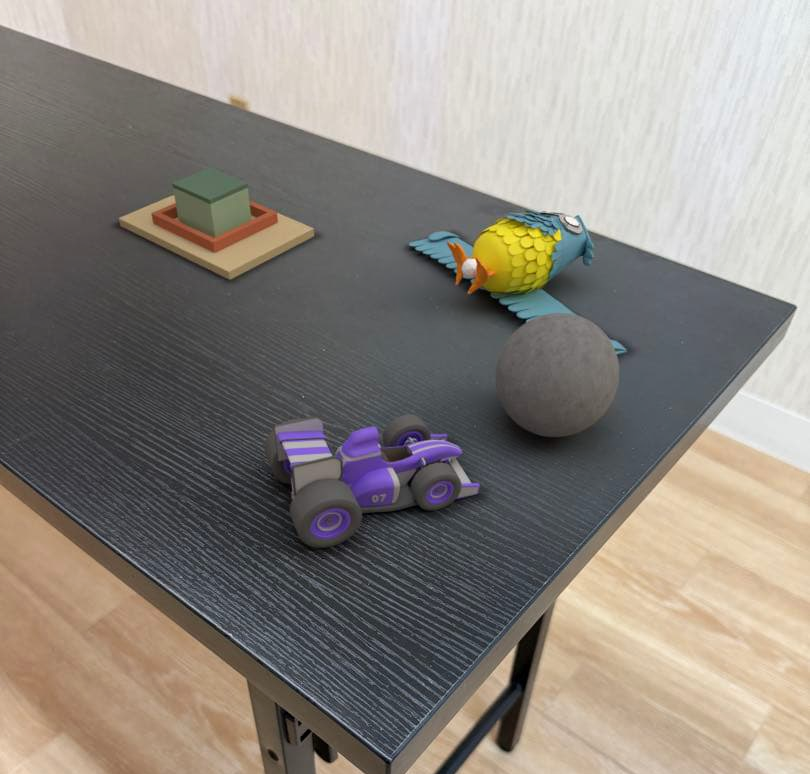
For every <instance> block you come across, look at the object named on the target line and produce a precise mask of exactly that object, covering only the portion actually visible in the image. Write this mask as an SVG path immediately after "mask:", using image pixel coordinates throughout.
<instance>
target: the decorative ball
mask: <svg viewBox="0 0 810 774" xmlns="http://www.w3.org/2000/svg"><path fill="white" fill-rule="evenodd" d="M574 314H575V313H574ZM574 314H568V313H551V314H546V315H542V316H539V317H537V318H534V317H533V318H534V319H532V320H530V321H528V322H527V323H526V322H525V323H523V324H522V325H521V326H520V327H518V328H517V329H516V330H515V331H514V332H513V333H512V334H511V335H510V336H509V337H508V339H507V340H506V342H505V343H504V345H503V347H502V348H501V351H500V353H499V356H498V357H497V361H496V362H497V363H496V368H495V377H494V379H495V388H496V389H495V390H496V393H497V396H498V400H499V402H500V404H501V406H502V408H503V409H504V411H505V412H506V414H507V415H508V417H509V418H510V419H511V420H512V421H513V422H514V423H516V425H518V426H520V427H521V428H522V429H524V430H525V431H528V432H529V433H532V434H534V435H537V436H540V437H547V438H563V437H570V436H573V435H576V434H578V433H581V432H583V431H584V430H587V429H588V428H590V427H592V426H593V425H594V424H595V423H597V422H598V421H599V420H600V419H602V417H603V416H604V415H605V414H606V412H607V411H608V409H609V408H610V407H611V405H612V404H613V401H614V399H615V397H616V394H617V392H618V391H617V390H618V388H619V383H620V382H619V381H620V364H619V363H620V362H619V358H618V355H616V351H615V349H614V347H613V345H612V343H611V341H610V340H611V339H610V337H608V335H607V334H606V333H605V332H604V330H602V329H601V327H599V326H598V325H597V324H596V323H594V322H592V321H591V320H589V319H587V318H585V317H583V316H580V315H578V314H576V315H574ZM609 339H610V340H609Z"/></svg>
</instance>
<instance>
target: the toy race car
mask: <svg viewBox="0 0 810 774" xmlns="http://www.w3.org/2000/svg"><path fill="white" fill-rule="evenodd" d="M323 421H324V420H323V419H322V418H321V417H318V416H313V417H307V418H295V419H291V420H287V421H285V422H282V423H280V424H274V425H273V430H272V431H271V432H270V433H269V434H268V436H267V437H266V440H265V443H264V448H263V449H264V455H265V458H266V459H267V462H268V464H269V468H270V469H271V472H272V473H273V475H274V477H275V478H276V479H277V480H278V481H280V482H282V483H284V484H287V485H291V490H292V491H291V492H290V494H291V499H292V500H291V502H290V506H289V515H290V518H291V521H292V523H293V525H294V528H295V530H296V534H297V535H298V537H299V539H300V541H301V542H302V543H303V544H305V545H307V546H308V547H312V548H316V549H325V548H326V549H327V548H331V547H335V546H337V545H340V544H342V543H344V542H345V541H347V540H349V539H350V538H351V537H352V536H353V535H354V534H355V533H356V532H357V531H358V529H359V528H360V526H361V523H362V520H363V514H371V513H384V512H385V513H386V512H393V511H399V510H404V509H407V508H411V507H414V506H419V507H420V508H421V509H422V510H425V511H432V512H433V511H438V510H442V509H444V508H446V507H448V506H450V505H451V504H452V503H453V502H455V501H456V500H459V499H463V498H467V497H472V496H477V495H479V493H480V488H481V485H480V484H479V482H471V480H470V479H469V477H468V476H467V474H466V472H465V471H464V469H463V468H462V466H461V465H460V463H459V462H458V459H457V458H458V457H459V458H460V457H462V456H463V454H464V453H463V452H464V451H463V450H462V448H461V447H460V446H459V445H458V444H454V443H452V442H451V441H448V440H449V435H448V434H447V433H431V432H430V430H429V428H428V426H427V424H426V423H425V422H424V420H423V419H422V418H421V417H420V416H418V415H416V414H412V413H411V414H409V413H408V414H403V415H400V416H397V417H395V418H394V419H393V420H391V421H390V422H389V423H387V425H386V427H385V428H384V430H383V433H382V442H383V444H384V446H385V447H382V446H381V444H380V443H379V440H380V439H379V438H380V434H379V430H378V428H377V426H375V425H373V426H368V427H364V428H360V429H356V430H354V431H352V432H351V433H350V434H349V436H348V438H347V439H346V440H344V442H342V444H341V445H340V446H338V448H336V451H335V452H334V453H335V454H334V455H333V453H332V448H331V446H330V444H329V442H328V440H327V438H326V435H325V431H324V430H325V429H324V422H323ZM439 461H440V462H439ZM413 476H414V477H413ZM412 477H413V478H412ZM411 479H412V480H411ZM410 480H411V482H410V486H409V484H408V482H409V481H410Z"/></svg>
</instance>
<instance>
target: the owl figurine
mask: <svg viewBox="0 0 810 774" xmlns="http://www.w3.org/2000/svg"><path fill="white" fill-rule="evenodd" d="M476 237H477V238H476V239H475V241H474V242H473V246H472V245H470V244H468V243H467V242H465V241H464V240H461V238H460V236H459V235H457V234H455V233H452V232H450V231H445V230H441V231H440V230H439V231H435V232H432V233H430V234H429V235H428V237H427V238H423V239H419V240H415V241H411V242H409V243H408V246H410V247H411V248H414V249H415V251H417V252H422V254H424V255H428V256H429V257H430V258H431V259H433V260H437V262H438V263H439V264H441V265H445V267H446V268H447V269H451V270H453V272H454V273H455V274H456V276H455V286H458V285H459V284H460V283H461V281H462V280H463V279H465V280H470V283H471V286H470V287H469V289H468V291H467V295H471V294H472V293H474V292H475V291H477V290H478V289H480V290H482V291H487V292H490V297H491V298H493V299H495V300H497V299H499V300H498V302H499V304H501V305H502V306H507V309H508V311H510V312H512V313H516V317H517V318H518V319H521V320H525V323H527V322H528V321H530V320H532V319H534V318H537V317H539V316H542V315H546V314H551V313H568V314H574V315H577V314H576V313H575V312H573V311H571V310H570V309H569V308H568V307H567V306H565V305H564V304H563V303H561V302H560V301H559V300H557V299H556V298H554V297H553V296H552V295H550V294H549V293H548V292H547V291H545V290H544V289H542V288H544V287H545V286H546V285H547V283H549V282H550V281H552V279H553V278H554V277H556V276H557V275H559V274H560V273H562V272H563V271H564V270H565V269H567V268H568V267H569V266H570V265H571V264H573V263H574V262H575V261H576V260H577V259H579V258H581V257H582V264H583V265H584V266H586V267H588V266H591V265H592V261H591V260H593V259H594V253H593V251H591V250H593V249H595V246H594V244H593V241H592V237H590V234H589V231H588V229H587V227H586V225H585V223H584V221H583V219H582V217H581V215H579V214H577V215H575V216H572V215H571V214H570V215H569V214H566V213H562V212H553V211H550V212H547V211H546V210H543V211H540V212H536V211H533V210H526V209H525V210H523V212H521V213H519V212H514V213H513V212H508V214H507V215H506V216H503V217H501V218H499V219H497V220H495V222H494V223H493V224H491V225H490V226H489V227H487V228H485V229H483V230H482V231H481V232H480V233H479V234H478V235H477V236H476ZM609 340H610V341H611V343H612V345H613V347H614V349H615V351H616V355H617V356H618V355H621V354H625V353H628V351H627V349H626V348H625V347H624V345H622V344H621V343H620V342H619V341H617V340H614V339H610V338H609Z"/></svg>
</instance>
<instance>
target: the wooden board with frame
mask: <svg viewBox="0 0 810 774" xmlns="http://www.w3.org/2000/svg"><path fill="white" fill-rule="evenodd" d="M249 203H250V212H251V221H248V222H246V223H244V224H242V225H240V226H238V227H236V228H234V229H231V230H229V231H227V232H225V233H223V234H221V235H219V236H217V237H215V238H213V237H211V236H209V235H207V234H205V233H202V232H200V231H198V230H196V229H194V228H192V227H190V226H187V225H185V224H183V223H181V222H179V219H178V213H177V208H176V202H175V197H174V194H173V195H170V196H167V197H166V198H163V199H161V200H159V201H156V202H154V203H151V204H149V205H147V206H144V207H142V208H139V209H137V210H134V211H132V212H129V213H127V214H125V215H122V216H119V217H118V222H119V226H120V227H121V228H123V229H125V230H127V231H129V232H132V233H134V234H135V235H137V236H140V237H142V238H144V239H145V240H148V241H150V242H152V243H153V244H156V245H157V246H159V247H162V248H163V249H166V250H168V251H170V252H172V253H174V254H176V255H178V256H179V257H183V258H184V259H186V260H188V261H191V262H192V263H194V264H196V265H198V266H200V267H202V268H205V269H206V270H209V271H211V272H213V273H215V274H216V275H218V276H221V277H222V278H224V279H227V280H229V281H230V280H233V279H234V278H237V277H239V276H241V275H242V274H244V273H246V272H249V271H250V270H252V269H254V268H256V267H258V266H260V265H262V264H264V263H265V262H267V261H270V260H272V259H273V258H275V257H278V256H279V255H281V254H283V253H285V252H287V251H288V250H290V249H293V248H294V247H296V246H298V245H301V244H303V243H304V242H306V241H308V240H311V239H313V238H314V237H315V229H314V227H311V226H309V225H307V224H304V223H302V222H301V221H300V222H299V221H298V220H295V219H293V218H291V217H288V216H286V215H283V214H281V213H279V212H277V211H276V210H273V209H271V208H268V207H266V206H264V205H261V204H260V203H257V202H254V201H252V200H250V199H249Z"/></svg>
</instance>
